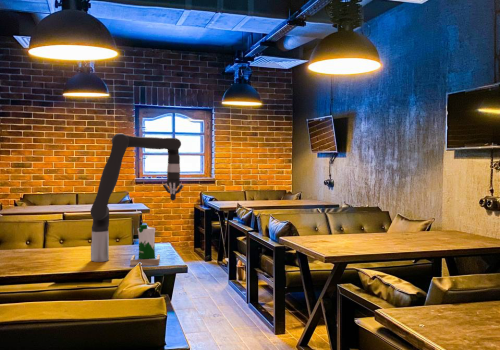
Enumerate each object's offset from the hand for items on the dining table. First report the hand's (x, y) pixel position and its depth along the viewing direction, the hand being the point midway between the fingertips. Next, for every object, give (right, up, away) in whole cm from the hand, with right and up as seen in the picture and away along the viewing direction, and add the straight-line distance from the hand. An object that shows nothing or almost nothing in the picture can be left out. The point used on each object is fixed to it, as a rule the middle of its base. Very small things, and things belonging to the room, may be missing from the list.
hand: (173, 200), depth 295 cm
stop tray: (-13, -35, -16) cm, 40 cm away
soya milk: (-15, -34, -4) cm, 38 cm away
